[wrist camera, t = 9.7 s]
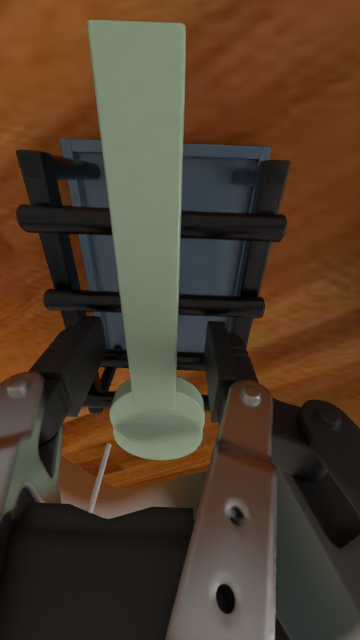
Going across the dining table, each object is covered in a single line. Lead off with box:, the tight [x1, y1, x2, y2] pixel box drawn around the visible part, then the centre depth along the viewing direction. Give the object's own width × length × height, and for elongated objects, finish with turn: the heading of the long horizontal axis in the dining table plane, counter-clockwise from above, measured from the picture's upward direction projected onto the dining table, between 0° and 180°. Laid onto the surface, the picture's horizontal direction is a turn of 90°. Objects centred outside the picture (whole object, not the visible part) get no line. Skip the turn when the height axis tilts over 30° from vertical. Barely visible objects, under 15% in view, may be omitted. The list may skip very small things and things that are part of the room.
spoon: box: [87, 20, 205, 460], centre depth 10 cm, size 19×5×2 cm, turn 178°
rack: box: [16, 138, 290, 413], centre depth 15 cm, size 17×12×8 cm
